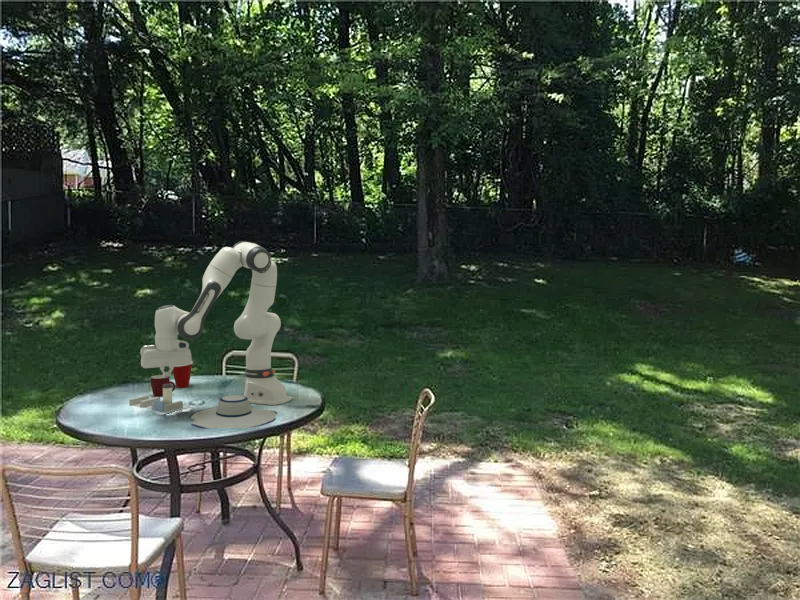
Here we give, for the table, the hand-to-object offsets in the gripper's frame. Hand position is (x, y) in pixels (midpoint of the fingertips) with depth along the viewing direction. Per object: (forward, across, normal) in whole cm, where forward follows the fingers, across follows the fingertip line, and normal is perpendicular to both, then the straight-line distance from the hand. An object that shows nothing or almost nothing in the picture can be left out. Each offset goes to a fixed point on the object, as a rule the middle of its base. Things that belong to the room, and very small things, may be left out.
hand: (166, 376), depth 291 cm
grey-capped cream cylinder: (+14, 0, 0) cm, 14 cm away
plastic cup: (+15, +18, +44) cm, 50 cm away
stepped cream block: (+15, -3, +6) cm, 17 cm away
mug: (+15, +4, +25) cm, 30 cm away
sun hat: (+15, +21, -23) cm, 35 cm away
